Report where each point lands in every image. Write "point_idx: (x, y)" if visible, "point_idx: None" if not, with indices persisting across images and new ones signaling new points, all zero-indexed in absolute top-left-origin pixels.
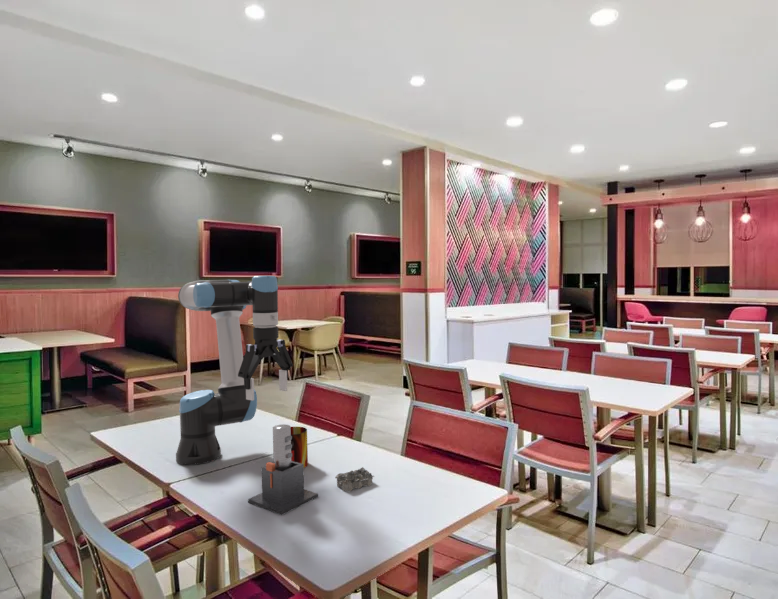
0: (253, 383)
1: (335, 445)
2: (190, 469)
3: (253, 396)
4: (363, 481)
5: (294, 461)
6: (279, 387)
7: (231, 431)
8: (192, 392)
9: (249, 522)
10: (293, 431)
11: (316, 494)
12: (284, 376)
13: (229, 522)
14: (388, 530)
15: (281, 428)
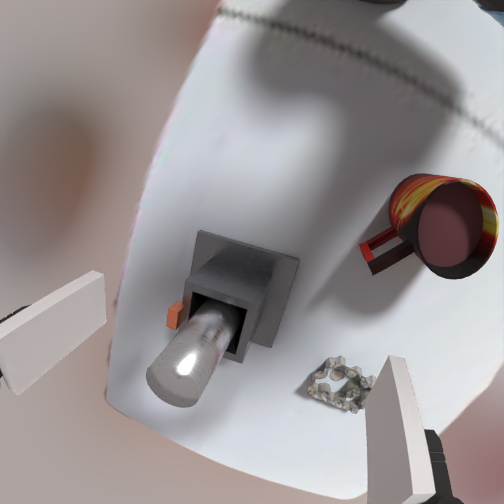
0: (39, 374)
1: None
2: None
3: (89, 331)
4: (344, 398)
5: (399, 236)
6: (391, 369)
7: None
8: None
9: (146, 277)
10: (486, 207)
11: (267, 346)
12: (372, 482)
13: (133, 246)
14: (215, 439)
15: (160, 390)
